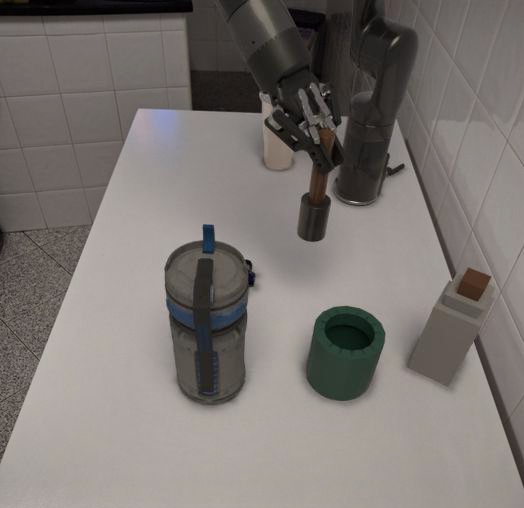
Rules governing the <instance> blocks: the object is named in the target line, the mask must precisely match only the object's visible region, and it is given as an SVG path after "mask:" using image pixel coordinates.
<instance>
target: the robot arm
mask: <svg viewBox="0 0 524 508" xmlns="http://www.w3.org/2000/svg"><path fill="white" fill-rule="evenodd" d="M213 2H214V4H215V5H216V7H217V9H218V11H219V13H220V15H221V16H222V18H223V20H224V22H225V24H226V25H227V28H228V30H229V33H230V35H231V38H232V39H233V42H234V45H235V47H236V48H237V50H238V51H239V52H238V53H239V54H240V56H241V58H242V60H243V61H244V64H245V65H246V67H247V68H248V70H249V72H250V74H251V75H252V78H253V80H254V82H255V83H256V85H257V87H258V89H259V90H260V91H261V92H262V93H263V94H265V95H267V94H269V96H270V99H271V105H272V107H273V110H272V112H271V114H270V116H268V117H267V118H266V119H265V120H264V124H265V126H266V127H267V128H269V129H270V130H271V131H272V132H273V133H274V134H275V135H276V136H277V137H278V138H279V139H281V140H282V141H283V142H284V143H285V144H286V145H287V146H288V147H289V148H290V149H291V150H293V151H294V153H298V152H299V151H303V152H306V153H307V155H308V156H309V158H310V160H311V162H312V164H313V163H314V165H315V167H316V169H317V171H318V172H319V173H320V174H321V175H326V174H327V173H329V174H330V173H332V171H334V170H335V168H337V167H338V170H337V175H336V177H335V179H334V182H333V185H334V188H333V189H334V190H333V192H334V195H335V196H336V198H337V199H338V200H340V201H341V202H343V203H345V204H348V205H353V206H367V205H371V204H372V203H374V202H375V201H376V200H377V198H378V197H379V196H381V192H382V189H383V185H384V182H385V180H386V176H387V174H389V175H394V174H397V173H398V172H399V171H401V170H402V169H404V168H405V167H406V165H405V163H401V164H399V165H397V166H396V167H394V168H393V169H392V167H391V166H388V165H389V162H390V157H391V154H390V153H389V149H390V144H391V140H392V136H393V132H394V128H395V124H396V120H397V116H398V113H399V111H400V109H401V107H402V105H403V102H404V100H405V97H406V94H407V91H408V87H409V84H410V81H411V77H412V74H413V72H414V68H415V65H416V61H417V58H418V55H419V54H418V53H419V48H420V47H419V46H420V38H419V34H418V32H417V30H416V29H415V28H413V27H411V26H408V25H407V24H403V23H402V22H399V21H397V20H393V19H391V18H388V15H387V0H352V7H351V9H352V10H351V20H350V21H351V22H350V35H349V57H350V62H351V65H352V66H353V68H354V69H355V70H356V71H358V73H361V74H362V75H365V76H367V77H369V78H371V79H373V80H375V85H374V89H373V90H366V91H361V92H358V93H356V94H355V95H353V97H352V98H351V99H350V103H349V108H348V114H347V118H346V125H345V129H344V134H343V135H344V136H343V142H342V143H341V141H340V140H339V138H338V135H337V133H338V132H337V131H338V127H339V126H341V124H342V123H343V121H342V114H341V109H340V104H339V98H338V92H337V88H336V84H335V82H334V81H333V80H329V81H328V82H326V83H322V82H319V79H318V77H316V76H315V74H314V73H313V72H312V71H311V65H312V62H313V56H312V55H311V53H310V52H309V51H308V49H307V45H306V43H305V41H304V39H303V37H302V35H301V34H300V30H299V29H298V27H297V25H296V24H295V21H294V19H293V17H292V16H291V13H290V12H289V9H288V7H287V6H286V4H285V3H284V1H283V0H213ZM260 91H259V92H260ZM318 113H319V114H318ZM317 114H318V115H317ZM315 115H316V116H315ZM320 122H321V123H322V125H321V123H320ZM322 129H328V130H331V131H333V132H334V133H335V140H334V146H333V152H332V158H330V156H329V154H328V152H327V150H326V148H325V146H324V144H323V143H321V144H320V142H321V140H320V137H319V135H318V133H317V132H318V131H319V130H322ZM306 133H307V134H306ZM291 136H294V137H295V138H296V140H295V139H294V138H292V137H291Z"/></svg>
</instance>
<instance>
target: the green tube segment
mask: <svg viewBox="0 0 524 508" xmlns="http://www.w3.org/2000/svg"><path fill="white" fill-rule="evenodd" d="M314 321H315V322H314V326H313V329H312V335H311V340H310V345H309V352H308V357H307V362H306V368H305V375H306V379H307V381H308V384H309V385H310V387H311V388H312V389H313V390H314V391H315V392H317V394H319V395H321V396H322V397H324V398H327V399H329V400H332V401H339V402H344V401H346V402H347V401H352V400H355V399H357V398H359V397H361V396H363V394H365V393H366V392H367V391H368V388H369V387H370V385H371V383H372V380H373V378H374V375H375V372H376V369H377V366H378V364H379V361H380V358H381V354H382V352H383V350H384V347H385V343H386V331H385V328H384V326H383V324H382V322H381V321H380V320H379V319H378V318H377V317H376V316H375V315H374V314H372V313H371V312H369V311H367V310H365V309H362V308H361V307H355V306H351V305H338V306H333V307H330V308H328V309H326V310H323V311H322V312H321V313H320V314H319V315H318V316H317V317H316V319H315V320H314Z"/></svg>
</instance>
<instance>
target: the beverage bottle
mask: <svg viewBox="0 0 524 508" xmlns="http://www.w3.org/2000/svg"><path fill="white" fill-rule="evenodd" d="M245 259H246V258H245V257H244V255H243V254H242V252H241V251H240V250H239V249H237V248H236V247H234V246H233V245H231V244H229V243H226V242H223V241H219V240H216V233H215V224H208V223H203V224H202V239H200V240H193V241H190V242H187V243H183V244H182V245H180V246H179V247H177V248H175V249H174V250H173V251H172V252H171V253H170V254H169V256H168V257H167V260H166V262H165V265H164V268H163V270H164V290H165V303H166V308H167V310H168V321H169V327H170V333H171V340H172V349H173V356H174V363H175V364H174V365H175V370H176V381H177V384H178V387H179V389H180V390H181V391H182V393H183V394H184V395H185V396H186V397H188V398H189V399H191V400H193V401H195V402H196V403H200V404H204V405H209V404H210V405H217V404H222V403H224V402H227V401H229V400H231V399H232V398H233V397H235V396H236V395H237V394H238V393H239V392H240V391H241V389H242V388H243V386H244V384H245V381H246V363H245V346H246V345H245V343H246V332H247V327H248V317H249V316H248V314H249V313H248V303H249V290H248V286H249V282H248V266H247V263H246V261H245ZM249 287H250V286H249Z"/></svg>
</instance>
